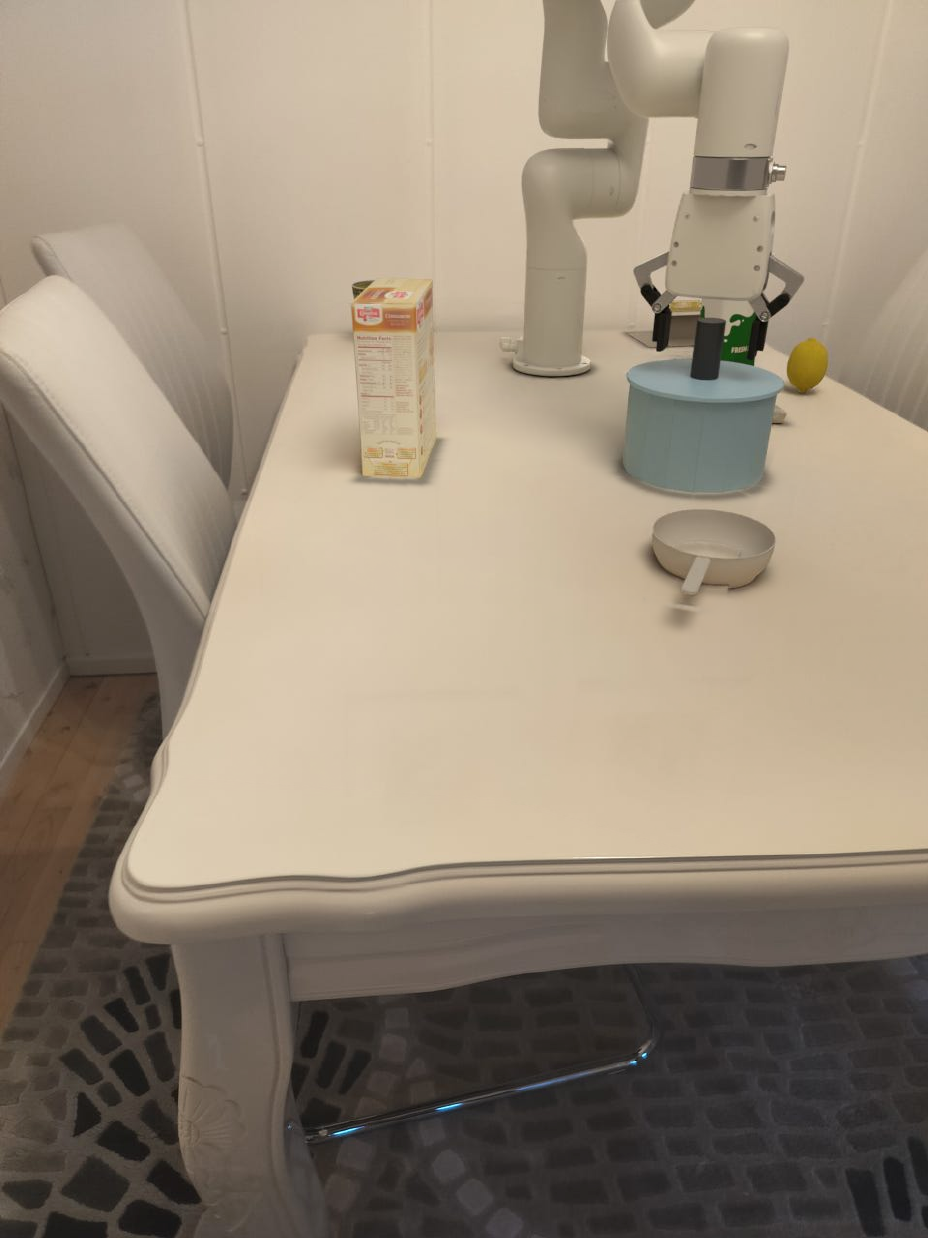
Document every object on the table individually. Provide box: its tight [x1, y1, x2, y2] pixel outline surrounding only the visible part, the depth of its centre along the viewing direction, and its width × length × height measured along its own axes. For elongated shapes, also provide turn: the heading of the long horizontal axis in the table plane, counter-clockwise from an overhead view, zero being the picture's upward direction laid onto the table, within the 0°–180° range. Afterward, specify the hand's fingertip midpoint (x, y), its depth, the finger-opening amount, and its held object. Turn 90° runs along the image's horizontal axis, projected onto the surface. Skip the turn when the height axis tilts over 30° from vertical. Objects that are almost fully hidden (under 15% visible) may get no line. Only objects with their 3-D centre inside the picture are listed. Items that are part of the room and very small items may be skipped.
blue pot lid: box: [626, 318, 785, 403], centre depth 96 cm, size 17×17×7 cm
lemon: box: [786, 337, 829, 394], centre depth 130 cm, size 6×6×8 cm
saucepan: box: [651, 508, 777, 596], centre depth 77 cm, size 11×18×4 cm, turn 157°
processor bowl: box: [622, 384, 778, 494], centre depth 100 cm, size 16×16×10 cm
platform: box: [627, 299, 702, 348], centre depth 162 cm, size 12×18×7 cm, turn 100°
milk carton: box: [699, 252, 776, 366], centre depth 137 cm, size 9×9×20 cm
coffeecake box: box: [349, 277, 437, 479], centre depth 102 cm, size 15×7×20 cm, turn 174°
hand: (706, 353), depth 96 cm, fingers open, 9 cm apart
